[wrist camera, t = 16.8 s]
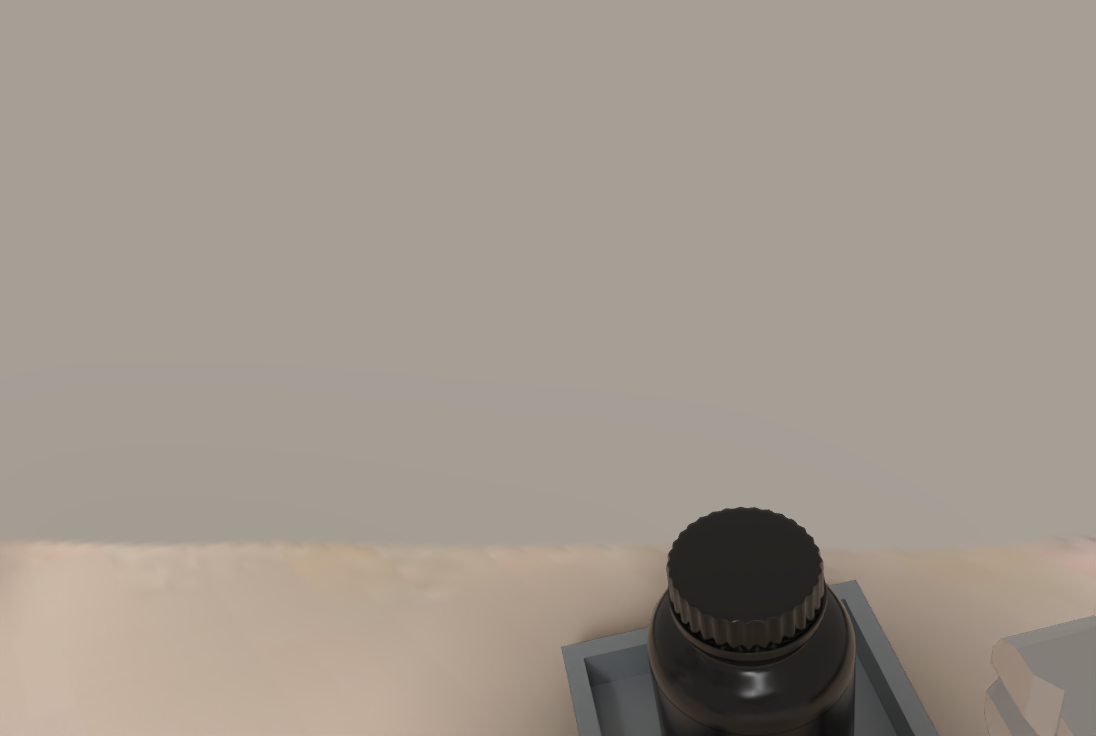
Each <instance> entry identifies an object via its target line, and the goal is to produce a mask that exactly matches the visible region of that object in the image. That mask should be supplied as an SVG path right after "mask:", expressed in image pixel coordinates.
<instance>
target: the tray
mask: <svg viewBox="0 0 1096 736" xmlns="http://www.w3.org/2000/svg"><path fill="white" fill-rule="evenodd" d="M829 587H830V588H831V589H832V590H833V591H834V592H835V593H836V595H837V596H838V597H839V599H840V600H841V602H842V603H843V605H844V606H845V608H846V610H847V612H848V614H849V616H850V619H851V622H852V625H853V629H854V633H855V643H856V685H855V729H854V736H939V735H938V733H937V731H936V729H935V727H934V725H933V723H932V722H931V720H930V718H929V716H928V714H927V712H926V710H925V708H924V707H923V705H922V703H921V701H920V699H919V697H918V695H917V693H916V692H915V690H914V688H913V686H912V684H911V682H910V680H909V678H908V677H907V675H906V673H905V671H904V669H903V667H902V665H901V664H900V662H899V660H898V658H897V656H896V654H895V652H894V650H893V649H892V647H891V645H890V643H889V641H888V639H887V637H886V635H885V634H884V632H883V630H882V628H881V626H880V624H879V622H878V620H877V619H876V617H875V615H874V613H873V611H872V609H871V607H870V605H869V604H868V602H867V600H866V598H865V596H864V594H863V592H862V590H861V589H860V587H859V585H858V583H857V581H856V580H854V581H850V582H845V583H841V584H836V585H832V586H829ZM647 633H648V627H647V628H643V629H638V630H634V631H629V632H625V633H621V634H616V635H612V636H607V637H603V638H599V639H594V640H590V641H585V642H581V643H577V644H572V645H568V646H563V647H561V648H562V653H563V658H564V663H565V668H566V672H567V677H568V682H569V687H570V692H571V696H572V701H573V706H574V711H575V716H576V720H577V725H578V730H579V735H580V736H661V731H660V725H659V719H658V714H657V708H656V702H655V696H654V690H653V684H652V678H651V672H650V666H649V659H648V651H647Z"/></svg>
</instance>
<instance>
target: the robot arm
mask: <svg viewBox="0 0 1096 736" xmlns="http://www.w3.org/2000/svg"><path fill="white" fill-rule="evenodd" d="M991 664H992V666H993V667H994V669H995V671H996V672H997V674H998V676H999V677H1000V678H999V679H998V680H997V681H996V682H995V683H994V684H993V685H992V686H991V687H990V688H989V689H988V690H987V691H986V701H985V712H984V713H985V718H986V723H987V727H988V732H989V736H1096V616H1090V617H1086V618H1082V619H1078V620H1074V621H1070V622H1066V623H1062V624H1058V625H1054V626H1050V627H1046V628H1042V629H1038V630H1034V631H1030V632H1026V633H1022V634H1018V635H1014V636H1010V637H1006V638H1002V639H1000V640H999V641H998V642H997V643H996V644H995V645H994V646H993V652H992V658H991Z"/></svg>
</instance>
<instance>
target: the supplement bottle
mask: <svg viewBox="0 0 1096 736" xmlns="http://www.w3.org/2000/svg"><path fill="white" fill-rule="evenodd" d="M666 570H667V578H668V588H667V589H666V591H665V592H664V593H663V595H662V596H661V598H660V599H659V601H658V602H657V604H656V606H655V608H654V611H653V613H652V616H651V619H650V622H649V627H648V633H647V651H648V659H649V666H650V672H651V678H652V684H653V690H654V696H655V702H656V708H657V714H658V719H659V725H660V731H661V736H854V729H855V685H856V643H855V633H854V629H853V625H852V622H851V619H850V616H849V614H848V612H847V610H846V608H845V606H844V605H843V603H842V602H841V600H840V599H839V597H838V596H837V595H836V593H835V592H834V591H833V590H832V589H831V588H830V587H829V586H828V585H827V584H826V583H825V579H824V566H823V560H822V558H821V557H820V550H819V548H818V547H817V546H816V545H815V544H814V539H813V537H811V536H810V535H809V534H807V533H806V530H805V528H803V527H801V526H799V525H797V523H796V522H795V521H794V520H792V519H788V518H786V517H785V516H784V515H783V514H779V513H774V512H772V511H770V510H760V509H758V508H755V507H753V508H743V507H738V508H735V509H724V510H722V511H718V512H712V513H710V514H709V515H708V516H704V517H700V518H699V519H698V520H697V521H696V522H694V523H691V524H689V525H688V527H687V529H686V530H684V531H682V532H681V533H680V535H679V538H678V539H677V540H675V541H674V542H673V546H672V550H671V551H670V552H669V553H668V563H667V566H666Z"/></svg>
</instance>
